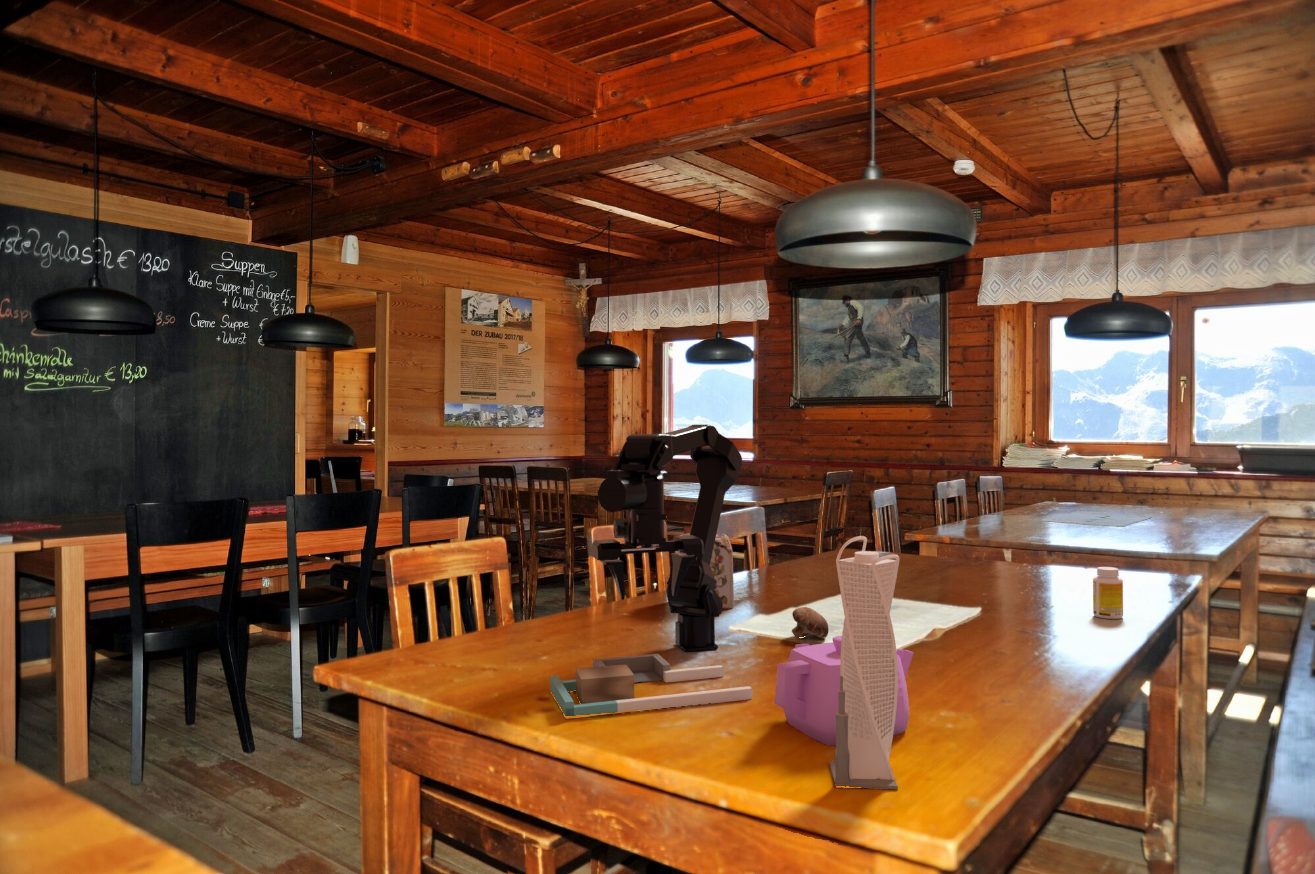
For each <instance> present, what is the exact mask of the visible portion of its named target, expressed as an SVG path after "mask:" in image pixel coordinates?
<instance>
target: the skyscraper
mask: <svg viewBox="0 0 1315 874" xmlns="http://www.w3.org/2000/svg"><path fill="white" fill-rule="evenodd" d="M857 541H863V543H862V544H863V545H862V549H861V550H860V551H855V552H854V556H853V557H846V558H842V559H841V556H842V554H843V551H844V550H845V548H846V547H848V546H849V545H850V544H851V543H854V542H857ZM867 543H868V538H867V537H866V536H864V535H859V536H858V535H857V536H854V537H852V538H849V539H848V540H847V541H845V542H844V543H843V545H842V546H841V548H839V551H838V553H837V556H836V559H835V564H836V570H837V579H838V584H839V591H840V596H841V603H842V607H843V614H844V620H843V626H842V627H843V628H842V633H841V636H842V642H841V659H840V690H839V691H838V702H839V712H835V714H836V746H835V749H834V760H829V763H828V764H829V768H830V772H831V776H832V779H834V780H833V783H834V782H835V784H834V787H835V786H845V787H846V786H849V787H861V788H882V789H881V790H888V789H898V790H899V788H898V787H899V785H898V783H897V781H896V778H895V775H894V772H893V770H892V766H891V764H890V757H891V756H890V755H891V750H892V743H893V737H894V735H893V732H894V725H895V717H896V707H897V693H898V663H897V645H896V644H897V643H896V637H895V633H894V627H893V622H892V619H891V618H892V617H891V614H890V613H891V609H892V603H893V599H894V594H895V588H896V582H897V578H898V574H899V573H898V571H899V567H900V566H899V565H900V560H901V559H900V556H899V555H898V554H896V553H895V554H886V555H883V556H880V553H879V552H877V551H870V550H868V551H867V550H866V547H867Z"/></svg>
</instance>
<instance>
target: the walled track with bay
mask: <svg viewBox="0 0 1315 874" xmlns="http://www.w3.org/2000/svg"><path fill="white" fill-rule="evenodd" d="M613 665H627V666H628V667H629V669H630V670H631V671H632V673H633V674H634V684H639V683H638V682H642V683H650V682H658V681H659V682H661V680H662V681H663V680H664V682H665V683H666V684H667V683H675V682H684V681H685V682H686V681H693V680H694V681H695V680H704V679H713V678H724V673H725V672H724V666H723V665H722V664H719V665H710V666H709V665H708V666H700V667H698V666H697V667H687V668H679V669H678V668H677V669H676V668H675V669H671V664H670V663H669V662H668V660H666V659H665V658H664V657H663V656H661V655H660V654H659V653H650V654H649V653H648V654H647V653H646V654H637V655H628V656H626V655H625V656H617V657H606V658H605V657H604V658H595V659H592V667H601V666H613ZM574 690H576V678H575V679H564V680H561V679H560V677H559V675H550V676H549V691H551V692H552V694H553V695H554V697H555V699H556V701H557V702H558V704H559V706H560V707H561V709H562V711H563V713H564V714H565V716H576V715H590V714H601V713H615V712H624V711H638V710H648V709H658V710H661V709H660V708H667V707H676V708H682V707H681V706H685V707H688V706H687V705H693V706H699V705H698V704H701V705H709V704H708V703H711V704H719V703H727V702H735V701H736V702H738V701H745V700H753V687H751V686H746V685H745V686H739V687H729V688H722V689H721V688H719V689H710V690H702V691H700V690H699V691H692V692H691V691H690V692H682V693H674V694H664V695H663V694H662V695H655V696H645V697H643V696H642V697H636V698H635V697H634V699H625V700H615V701H606V702H597V703H587V704H575V701H574V700H573V698H572V696H571V694H570V692H569V693H568V691H574ZM552 694H551V695H552ZM556 701H555V702H556ZM701 705H700V706H701ZM667 709H668V708H667Z"/></svg>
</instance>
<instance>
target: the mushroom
mask: <svg viewBox="0 0 1315 874" xmlns="http://www.w3.org/2000/svg"><path fill="white" fill-rule="evenodd" d="M791 613H792V618H793V621H794V622H796V626H795V627H793V628H792V629H791V633H792V634H793V636H795V637H796V638H797V639H799V637H804V636H806V637H808V636H810V635H812V636H816V637H817V638H819V639H821V638H823V639H826V638H827V637H828V635H829V624H828V621H827V619H826V618H825V617H824V616H823V615H821V614H820V613H819V612H817V611H816V610H815V609H813V608H812V607H807V606H801V607H796V608H795V609H794V610H793V611H792V612H791Z"/></svg>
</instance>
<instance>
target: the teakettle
mask: <svg viewBox="0 0 1315 874" xmlns="http://www.w3.org/2000/svg"><path fill="white" fill-rule="evenodd" d="M831 639H832V641H831V642H825V643H819V644H818V643H817V644H811V645H810V643H800V644H795V646H794V648H793V649H791V650H790V653H789V657H788V661H787V662H781V663H777V666H776V668H777V669H776V671H777V672H776V679H775V680H776V682H775V683H776V684H775V692H774V694H775V695H774V704H775V705H777V706H778V707H780V708H782V709H783V713H784V717H785V720H786V722H787V723H788V725H790V727H791V726H792V727H793V728H795V729H796V730H798V731H799V732H801V733H803V734H804V735H806V736H808V737H809V738H811V739H813V740H815V741H817V742H818V743H819V742H820V743H821V744H823V745H826V746H829V747H830V746H833V747H836V714H835V712H839V702H838V691H839V690H840V659H841V642H842V635H837V636H834V637H832V638H831ZM896 651H897V663H898V693H897V707H896V717H895V725H894V732H893V736H896V735H900V734H902V733H905V732H906V730H907V726H908V723H909V720H910V703H909V695H908V689H907V688H908V687H907V681H906V677H907V674H908V671H909V668H910V665H911V661H913V660H912V659H913V656H914V652H913V651H911V650H908V649H900V648H899V649H898V648H896Z"/></svg>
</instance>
